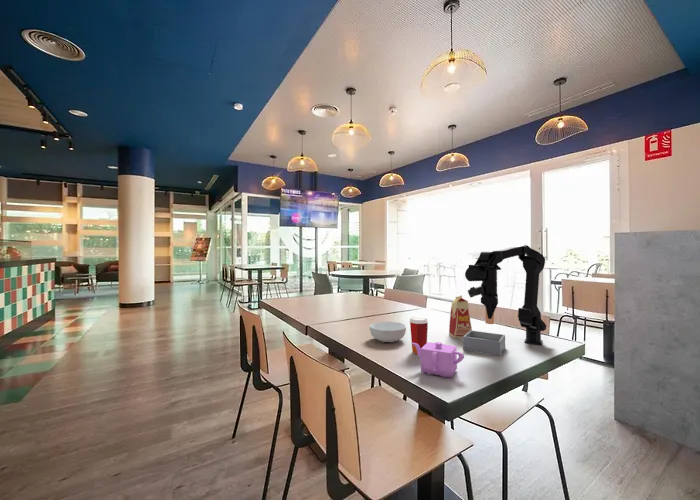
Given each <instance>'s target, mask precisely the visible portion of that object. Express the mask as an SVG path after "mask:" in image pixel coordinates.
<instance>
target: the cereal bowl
mask: <svg viewBox="0 0 700 500" xmlns="http://www.w3.org/2000/svg"><path fill="white" fill-rule="evenodd" d="M369 332H370V335H371V336H372V338H374V339H376V340H378V341H380V342H381V341H383V342H382V343H384V342H393V343H395V342H394V341H396V342H397V341H399V340H401V339H403V338H404V336H405V335H406V334H407V333H406V332H407V327H406V325H405V324H404V323H402V322H398V321H378V322H373V323H371V324H370V325H369Z"/></svg>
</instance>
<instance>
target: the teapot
mask: <svg viewBox="0 0 700 500" xmlns="http://www.w3.org/2000/svg"><path fill="white" fill-rule="evenodd" d="M412 344H413V345H414V346H415V347H416V349H417V353H418V354H417V356H418V358H419V360H420V372H421V373H426V374H427V373H429V374H433V375H437V376H441V377H442V378H444V377H446V378H452V377H453V376H454V374H455V372H456V370H457V369H458V364H459V363H460V362H462V361H463V360H464V358H465V354H463V353H462V352H460V351H458V350H457V345H451V344H446V343H445V344H444V343H442V342H440V341H438V342H429V341H427V343H426V344H425V345H424V346H423V347H422V348H421V349H420V346H419V345H418V344H417V343H412V342H411V345H412ZM429 374H428V375H429Z"/></svg>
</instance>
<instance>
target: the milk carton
mask: <svg viewBox="0 0 700 500" xmlns="http://www.w3.org/2000/svg"><path fill="white" fill-rule="evenodd" d="M469 309H470V308H469V301H468V300H466V299H464V298H463V295H459V296H455V299H454V300H453V301H452V302H451V307H450V312H449V313H450V314H449V316H450V317H449V324H448V325H449V326H448V327H449V328H448V329H449V330H448V334H449V335H450V336H452V337H453V338H454V339H463V336H464V335H466V334H467V333H468V332H469V331H470V330H472V331H473V329H472V323H471V317H470V316H471V315H470V310H469Z"/></svg>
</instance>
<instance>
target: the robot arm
mask: <svg viewBox="0 0 700 500" xmlns="http://www.w3.org/2000/svg"><path fill="white" fill-rule="evenodd" d="M478 256H479V257H478V258H477V260H476V261H475V263H474V264H468V267H467V268H466V270H465V273H464V276H465V277H464V278H465V279H466V280H467V281H468V282H481V284H480V286H477V287H475V286H472V287H470V288H469V289H468V290H467V293H468V295H469V297H470V298H474V297H476V296H480V295H481V297H480V304H482V305H483V306H484V307H486V311H487V315H488V319H491V318H492V316H493V313H494V314H495V312H496V309H497V306H498V304H499V297H498V295H499V294H498V271H500V270H502V268H501V266H499V265H498V264H500V263H502V262H503V261H504V260H506V259H510V258H514V257H518V259H519V260H520V261H521V262H522V267H523V270H524V272H525V288H524V301H523V302H524V303H523V305H522V307H519V308H518V309H517V310H518V313H517V317H518V321H519V324H520V327H521V328H525V339H524V343H526V344H532V345H538V346H542V345H543V340H542V333H541V332H544V331H546V330H547V324H546V323H545V322H544V321H543V319H542V313H541V311H540V309H539V307H538V298H539V285H540V284H539V283H540V274H541V273H542V271H543V270H544V268H545V264H546V257H545V256H544V255H543V254H542V253H540V252H539V251H537V250H535V249H533V248H531V247H530V245H527V244H517V245H515V246H512V247H507V248H503V249H499V250H483V251H481V252H480V254H479V255H478ZM486 311H485V312H486Z"/></svg>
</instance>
